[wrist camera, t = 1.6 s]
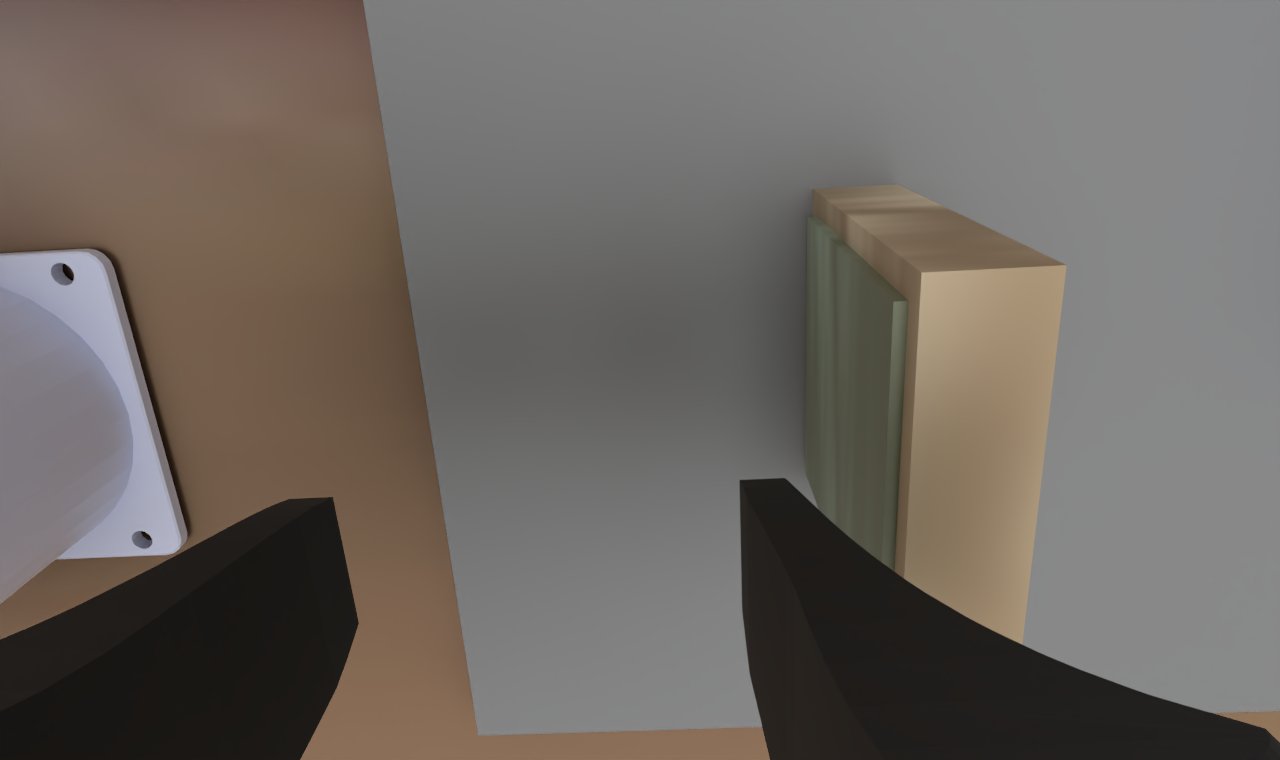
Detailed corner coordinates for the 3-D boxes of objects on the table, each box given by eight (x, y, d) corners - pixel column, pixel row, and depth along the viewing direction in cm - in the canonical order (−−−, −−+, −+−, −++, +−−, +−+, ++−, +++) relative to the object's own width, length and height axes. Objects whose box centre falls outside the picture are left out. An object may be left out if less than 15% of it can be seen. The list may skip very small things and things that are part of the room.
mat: (483, 715, 24) (478, 735, 24) (348, -175, 17) (334, -186, 16) (1270, 690, 23) (1290, 710, 23) (1502, -261, 16) (1544, -278, 15)
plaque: (801, 480, 21) (883, 716, 13) (803, 189, 18) (905, 274, 11) (884, 477, 20) (1014, 712, 13) (897, 184, 18) (1066, 264, 11)
